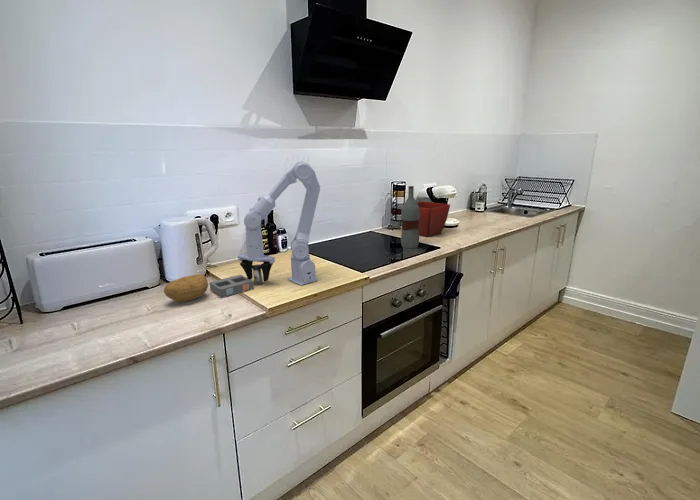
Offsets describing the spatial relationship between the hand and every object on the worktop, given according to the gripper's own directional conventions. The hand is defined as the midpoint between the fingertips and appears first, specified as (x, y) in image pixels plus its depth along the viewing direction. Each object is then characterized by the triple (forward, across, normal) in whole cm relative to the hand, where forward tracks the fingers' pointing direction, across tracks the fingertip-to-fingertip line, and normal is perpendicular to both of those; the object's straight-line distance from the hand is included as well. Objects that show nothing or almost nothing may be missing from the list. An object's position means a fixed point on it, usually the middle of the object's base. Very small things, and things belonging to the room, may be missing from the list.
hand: (258, 279), depth 140 cm
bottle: (+2, -45, -67) cm, 81 cm away
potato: (+2, +14, +21) cm, 25 cm away
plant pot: (+2, -49, -98) cm, 109 cm away
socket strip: (+1, +6, +8) cm, 10 cm away
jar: (+1, 0, 0) cm, 1 cm away
